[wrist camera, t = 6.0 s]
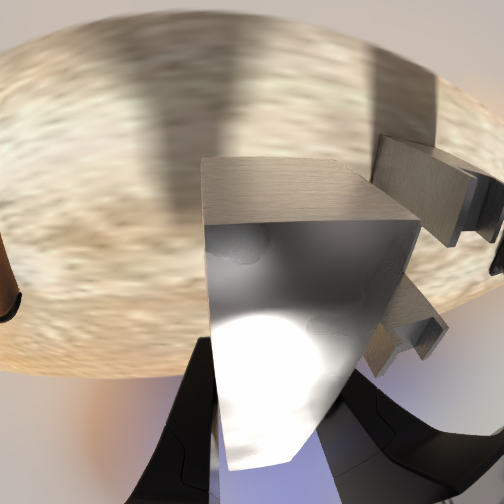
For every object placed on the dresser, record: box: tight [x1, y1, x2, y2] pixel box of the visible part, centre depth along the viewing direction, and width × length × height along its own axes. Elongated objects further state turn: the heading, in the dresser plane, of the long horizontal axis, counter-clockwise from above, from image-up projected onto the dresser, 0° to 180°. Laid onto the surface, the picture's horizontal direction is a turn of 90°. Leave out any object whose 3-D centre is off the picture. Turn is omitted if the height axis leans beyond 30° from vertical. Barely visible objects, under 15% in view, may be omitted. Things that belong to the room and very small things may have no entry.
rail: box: [201, 157, 421, 471], centre depth 7 cm, size 3×12×3 cm, turn 177°
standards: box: [363, 135, 504, 378], centre depth 13 cm, size 5×12×6 cm, turn 177°
